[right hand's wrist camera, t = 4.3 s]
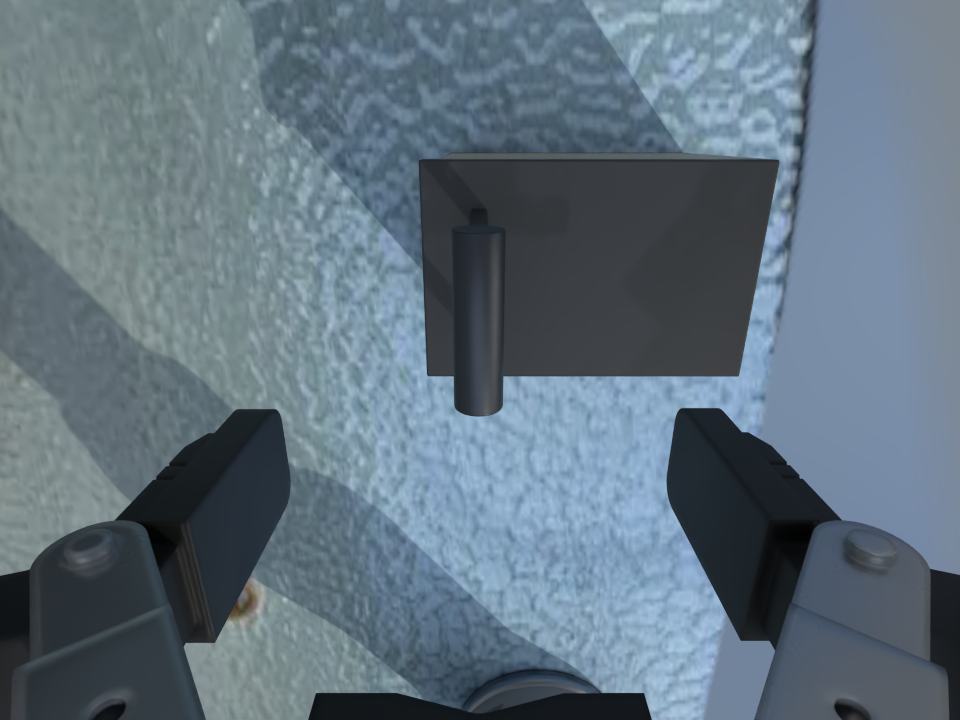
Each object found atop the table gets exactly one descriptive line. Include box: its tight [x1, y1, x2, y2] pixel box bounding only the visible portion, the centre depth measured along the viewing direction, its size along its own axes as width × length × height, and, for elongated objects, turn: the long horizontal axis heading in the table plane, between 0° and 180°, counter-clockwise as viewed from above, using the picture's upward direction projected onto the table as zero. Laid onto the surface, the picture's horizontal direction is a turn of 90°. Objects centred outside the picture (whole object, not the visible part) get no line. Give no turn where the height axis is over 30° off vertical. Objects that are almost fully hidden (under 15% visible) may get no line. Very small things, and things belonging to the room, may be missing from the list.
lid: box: [419, 159, 779, 416], centre depth 23 cm, size 16×10×9 cm, turn 90°
